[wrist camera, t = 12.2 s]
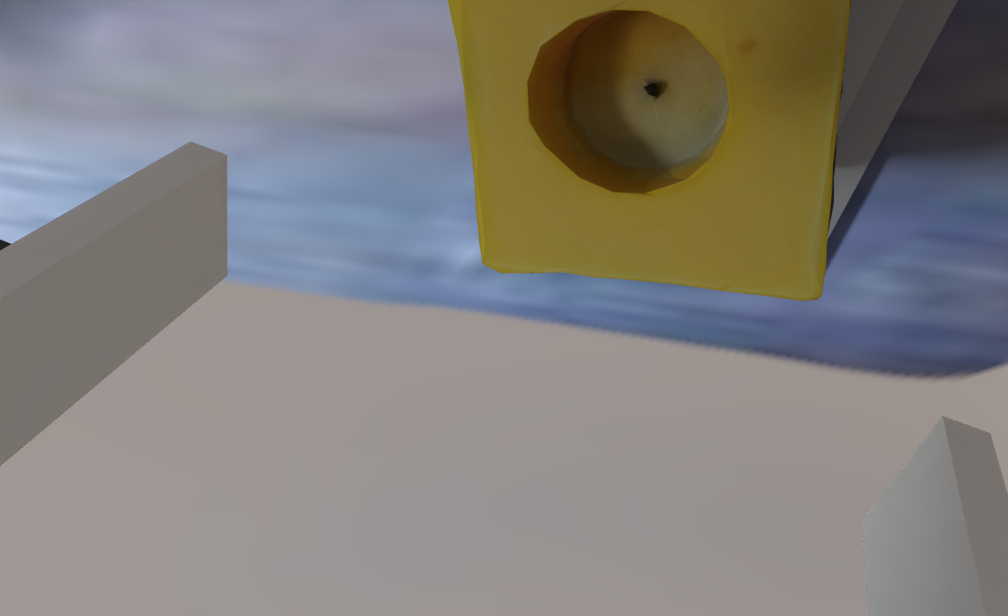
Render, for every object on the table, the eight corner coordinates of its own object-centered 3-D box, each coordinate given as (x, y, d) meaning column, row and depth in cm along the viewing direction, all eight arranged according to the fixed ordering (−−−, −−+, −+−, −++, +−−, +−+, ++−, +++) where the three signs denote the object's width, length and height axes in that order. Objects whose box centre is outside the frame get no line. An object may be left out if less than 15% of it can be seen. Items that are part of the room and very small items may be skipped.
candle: (830, 170, 29) (832, 312, 21) (563, 162, 32) (478, 282, 24) (869, -152, 23) (893, -124, 16) (545, -121, 27) (429, -86, 19)
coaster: (486, 167, 34) (480, 173, 34) (568, -210, 26) (563, -210, 25) (801, 281, 32) (800, 289, 32) (1001, -88, 24) (1005, -86, 23)
